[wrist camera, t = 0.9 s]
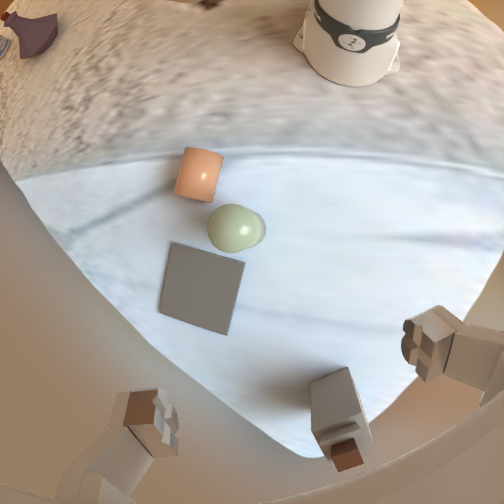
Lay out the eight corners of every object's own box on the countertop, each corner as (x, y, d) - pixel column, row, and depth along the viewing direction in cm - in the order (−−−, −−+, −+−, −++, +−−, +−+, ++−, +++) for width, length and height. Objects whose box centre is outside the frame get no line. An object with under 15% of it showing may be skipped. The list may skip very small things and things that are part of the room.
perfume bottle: (323, 410, 45) (328, 483, 27) (309, 382, 45) (311, 453, 27) (359, 396, 44) (380, 465, 26) (347, 366, 44) (368, 433, 26)
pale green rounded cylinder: (234, 206, 45) (214, 199, 34) (269, 215, 44) (260, 210, 33) (225, 242, 45) (202, 246, 34) (260, 251, 44) (248, 258, 34)
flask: (56, 15, 49) (18, -12, 29) (74, 24, 48) (31, -9, 28) (23, 57, 52) (-19, 36, 32) (37, 71, 50) (-12, 48, 31)
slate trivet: (174, 242, 47) (172, 243, 46) (245, 262, 45) (244, 263, 44) (161, 311, 48) (159, 312, 47) (227, 334, 46) (226, 335, 45)
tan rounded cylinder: (190, 154, 45) (180, 145, 39) (226, 161, 45) (221, 152, 39) (179, 195, 46) (167, 192, 40) (214, 204, 46) (208, 201, 40)
